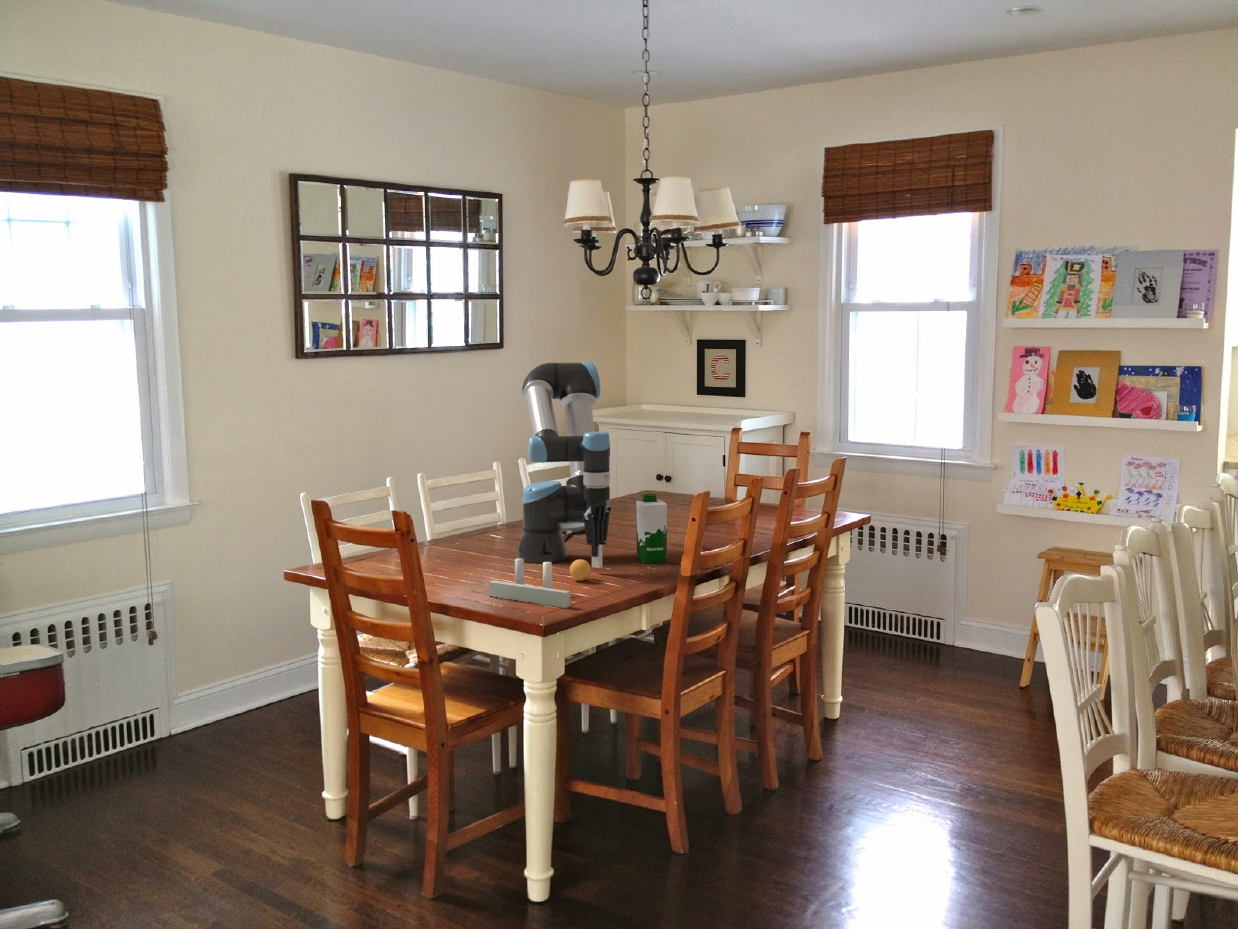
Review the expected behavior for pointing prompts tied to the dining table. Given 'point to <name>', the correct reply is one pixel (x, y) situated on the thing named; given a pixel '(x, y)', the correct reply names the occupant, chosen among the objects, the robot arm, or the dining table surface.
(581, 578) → the ball
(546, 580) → the pin
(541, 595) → the wall
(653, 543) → the milk carton
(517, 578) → the grey pin
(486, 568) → the dining table surface
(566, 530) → the spoon
